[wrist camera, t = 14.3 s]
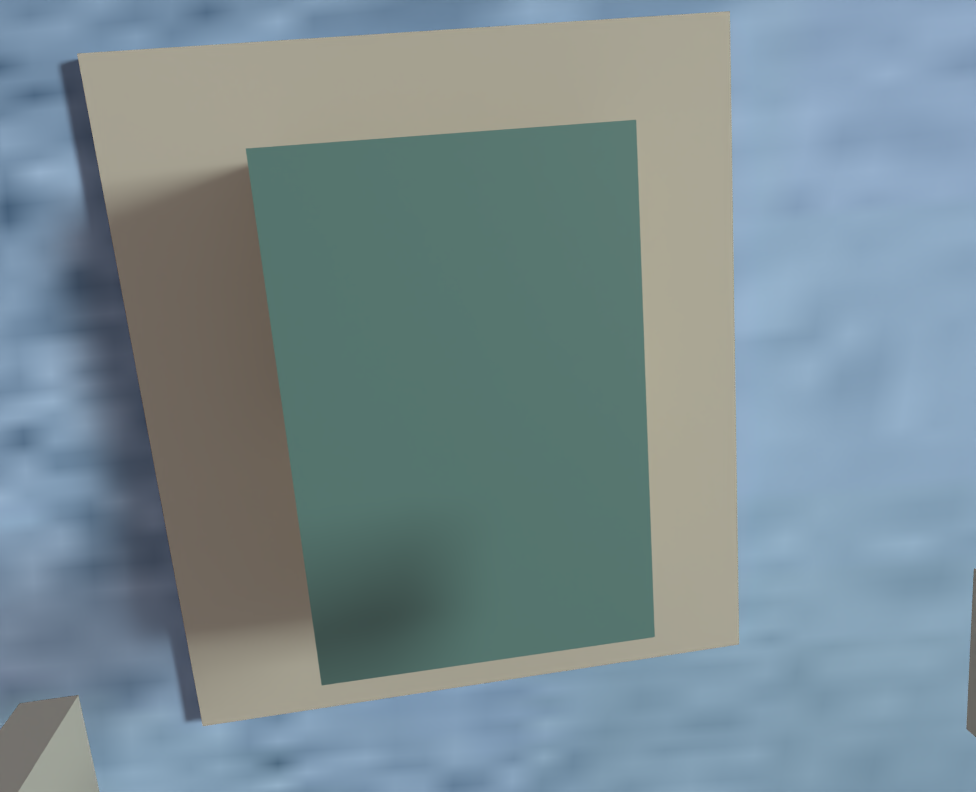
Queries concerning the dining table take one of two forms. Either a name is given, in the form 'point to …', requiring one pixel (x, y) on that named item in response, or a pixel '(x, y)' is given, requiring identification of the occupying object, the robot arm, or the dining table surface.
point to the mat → (247, 330)
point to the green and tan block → (462, 391)
